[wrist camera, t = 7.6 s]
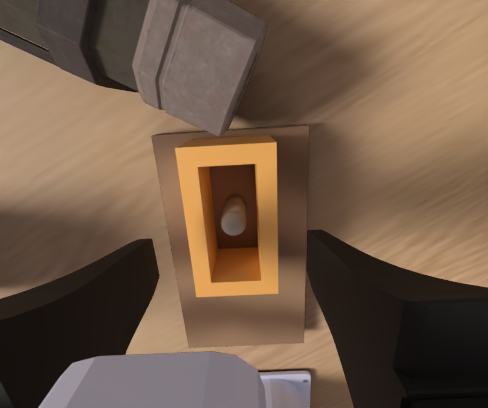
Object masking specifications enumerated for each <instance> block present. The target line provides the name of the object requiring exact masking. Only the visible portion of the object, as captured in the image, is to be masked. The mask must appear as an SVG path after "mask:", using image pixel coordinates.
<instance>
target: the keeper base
mask: <svg viewBox="0 0 488 408" xmlns="http://www.w3.org/2000/svg"><path fill="white" fill-rule="evenodd" d="M263 135H270V136H271V137H272V138H273V139H274V140H275V141H276V142H277V218H278V294H260V295H237V296H214V297H196V291H195V284H194V277H193V270H192V263H191V256H190V249H189V242H188V235H187V228H186V221H185V215H184V208H183V201H182V194H181V187H180V180H179V173H178V166H177V159H176V152H175V148H176V147H178V146H180V145H182V144H183V143H185V142H187V141H189V140H192V139H210V138H228V137H246V136H263ZM151 137H152V143H153V148H154V154H155V159H156V165H157V171H158V176H159V182H160V188H161V193H162V199H163V205H164V210H165V216H166V222H167V227H168V233H169V239H170V244H171V250H172V255H173V261H174V267H175V272H176V278H177V284H178V289H179V295H180V301H181V306H182V312H183V318H184V323H185V329H186V334H187V340H188V346H189V348H200V347H223V346H245V345H268V344H291V343H304V317H305V276H306V236H307V195H308V155H309V126H307V125H292V126H276V127H260V128H244V129H228V130H227V131H226V132H225V133H224V134H223V135H222V136H217V135H214V134H212V133H210V132H208V131H196V132H180V133H164V134H156V135H152V136H151ZM209 169H210V178H211V188H212V198H213V208H214V218H215V227H216V237H217V247H218V249H230V248H251V247H258V234H257V210H256V186H255V164H243V165H224V166H209Z"/></svg>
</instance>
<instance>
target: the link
mask: <svg viewBox="0 0 488 408" xmlns="http://www.w3.org/2000/svg"><path fill="white" fill-rule="evenodd" d="M175 152H176V159H177V166H178V173H179V180H180V187H181V194H182V201H183V208H184V215H185V221H186V228H187V235H188V242H189V249H190V256H191V263H192V270H193V277H194V284H195V291H196V297H214V296H237V295H260V294H278V218H277V142H276V141H275V140H274V139H273V138H272V137H271V136H270V135H263V136H246V137H228V138H210V139H192V140H189V141H187V142H185V143H183V144H182V145H180V146H178V147H176V148H175ZM243 164H255V186H256V210H257V234H258V247H251V248H230V249H218V247H217V237H216V227H215V218H214V208H213V198H212V188H211V178H210V169H209V166H224V165H243Z"/></svg>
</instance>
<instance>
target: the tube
mask: <svg viewBox="0 0 488 408" xmlns="http://www.w3.org/2000/svg"><path fill="white" fill-rule="evenodd" d="M0 27H2V28H4V29H6V30H8V31H10V32H8V31H6V30H4V29H2V28H0V40H2V41H4V42H6V43H8V44H10V45H13V46H15V47H17V48H19V49H21V50H23V51H26V52H28V53H30V54H32V55H34V56H36V57H39V58H41V59H43V60H45V61H47V62H49V63H52V64H54V65H56V66H58V67H60V68H61V69H63V70H65V71H67V72H69V73H72V74H74V75H76V76H78V77H80V78H83V79H85V80H87V81H89V82H92V83H94V84H96V85H100V86H103V87H107V88H113V89H119V90H125V91H131V92H139V93H140V95H141V97H142V99H143V101H144V102H145V103H147V104H149V105H151V106H153V107H155V108H157V109H160V110H165V111H166V113H168V114H170V115H172V116H174V117H177V118H179V119H181V120H183V121H185V122H187V123H190V124H192V125H194V126H196V127H199V128H201V129H203V130H205V131H208V132H210V133H212V134H214V135H217V136H222V135H223V134H224V133H225V132H226V131H227V129H228V128H229V126H230V124H231V122H232V120H233V118H234V115H235V113H236V111H237V109H238V106H239V104H240V102H241V99H242V97H243V94H244V92H245V90H246V87H247V85H248V83H249V80H250V78H251V75H252V73H253V70H254V68H255V65H256V63H257V60H258V57H259V55H260V52H261V49H262V45H263V42H264V38H265V35H266V31H267V23H266V22H265V21H263V20H261V19H259V18H258V17H256V16H254V15H252V14H251V13H249V12H247V11H246V10H244V9H242V8H240V7H239V6H237V5H235V4H233V3H232V2H230V1H228V0H0ZM11 32H13V33H15V34H17V35H19V36H21V37H23V38H25V39H23V38H21V37H19V36H17V35H15V34H13V33H11ZM26 39H28V40H30V41H32V42H34V43H36V44H38V45H40V46H42V47H40V46H38V45H36V44H34V43H32V42H30V41H28V40H26ZM43 47H45V48H47V49H48V50H47V49H45V48H43Z"/></svg>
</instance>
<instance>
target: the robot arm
mask: <svg viewBox="0 0 488 408" xmlns="http://www.w3.org/2000/svg"><path fill="white" fill-rule="evenodd" d="M306 269H307V273H308V276H309V280H310V284H311V287H312V289H313V292H314V294H315V297H316V299H317V301H318V304H319V306H320V308H321V310H322V313H323V315H324V317H325V320H326V322H327V324H328V326H329V329H330V331H331V334H332V336H333V339H334V342H335V345H336V348H337V352H338V355H339V358H340V361H341V364H342V368H343V371H344V374H345V378H346V381H347V384H348V388H349V391H350V395H351V399H352V402H353V406H354V408H488V288H487V287H481V286H475V285H469V284H463V283H457V282H453V281H448V280H444V279H439V278H435V277H431V276H427V275H423V274H420V273H417V272H413V271H410V270H407V269H403V268H401V267H398V266H395V265H392V264H389V263H387V262H384V261H382V260H379V259H377V258H374V257H372V256H370V255H368V254H366V253H364V252H362V251H360V250H358V249H356V248H354V247H352V246H350V245H348V244H346V243H345V242H343V241H341V240H339V239H338V238H336V237H334V236H332V235H331V234H329V233H327V232H325V231H323V230H307V268H306ZM158 279H159V271H158V266H157V261H156V256H155V251H154V246H153V241H152V239H139V240H136V241H134V242H131V243H129V244H127V245H125V246H123V247H122V248H120V249H118V250H116V251H114V252H112V253H110V254H109V255H107V256H105V257H103V258H101V259H99V260H97V261H95V262H93V263H91V264H89V265H87V266H85V267H83V268H81V269H79V270H77V271H75V272H73V273H71V274H68V275H66V276H64V277H61V278H59V279H56V280H54V281H52V282H49V283H46V284H44V285H41V286H38V287H35V288H32V289H29V290H26V291H24V292H21V293H18V294H15V295H11V296H8V297H5V298H1V299H0V408H310V390H311V375H310V372H309V371H281V372H258V370H257V369H256V368H255V367H253V366H252V365H250V364H248V363H247V362H245V361H244V360H242V359H241V358H239V357H238V356H236V355H233V354H227V353H220V352H214V351H203V352H180V353H157V354H133V355H125V354H126V351H127V348H128V346H129V344H130V342H131V339H132V337H133V335H134V333H135V331H136V329H137V327H138V325H139V323H140V321H141V319H142V317H143V315H144V313H145V311H146V309H147V307H148V305H149V303H150V301H151V299H152V297H153V295H154V292H155V289H156V286H157V283H158Z"/></svg>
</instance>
